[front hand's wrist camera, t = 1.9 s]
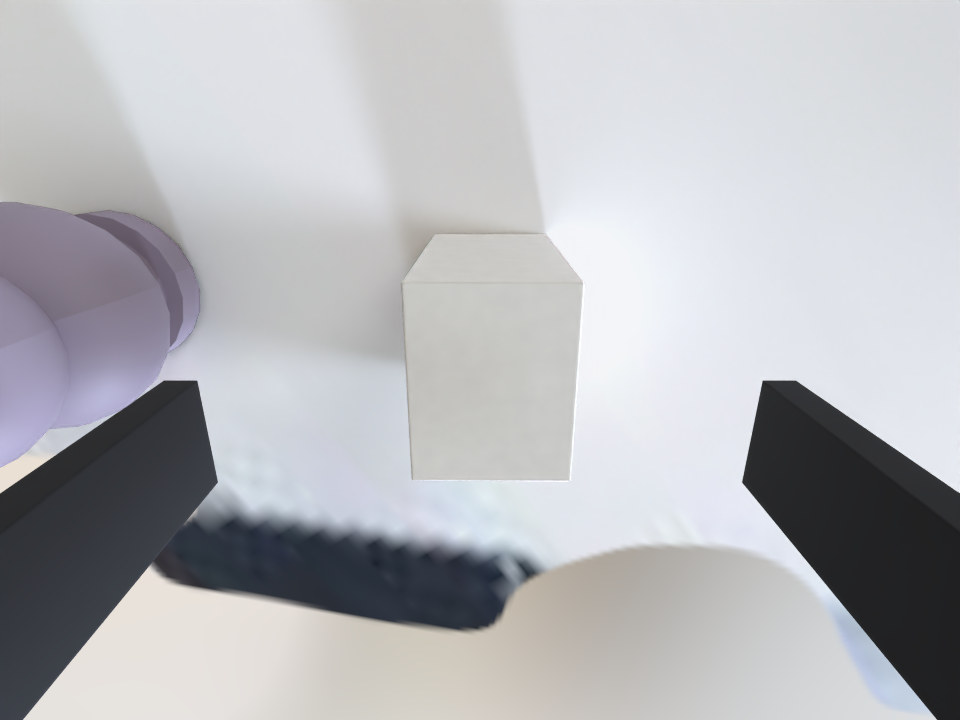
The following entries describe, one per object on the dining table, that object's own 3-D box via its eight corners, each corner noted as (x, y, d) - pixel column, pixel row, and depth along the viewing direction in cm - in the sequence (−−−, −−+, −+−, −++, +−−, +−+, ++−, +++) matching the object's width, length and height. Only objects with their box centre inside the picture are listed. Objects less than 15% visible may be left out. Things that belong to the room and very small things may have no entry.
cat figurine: (47, 371, 24) (-339, 558, 13) (-4, 189, 21) (-557, 225, 10) (235, 377, 24) (14, 570, 13) (209, 196, 21) (-104, 240, 10)
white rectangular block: (438, 366, 24) (411, 481, 15) (434, 233, 22) (400, 281, 13) (541, 367, 24) (570, 482, 15) (546, 233, 22) (585, 282, 13)
